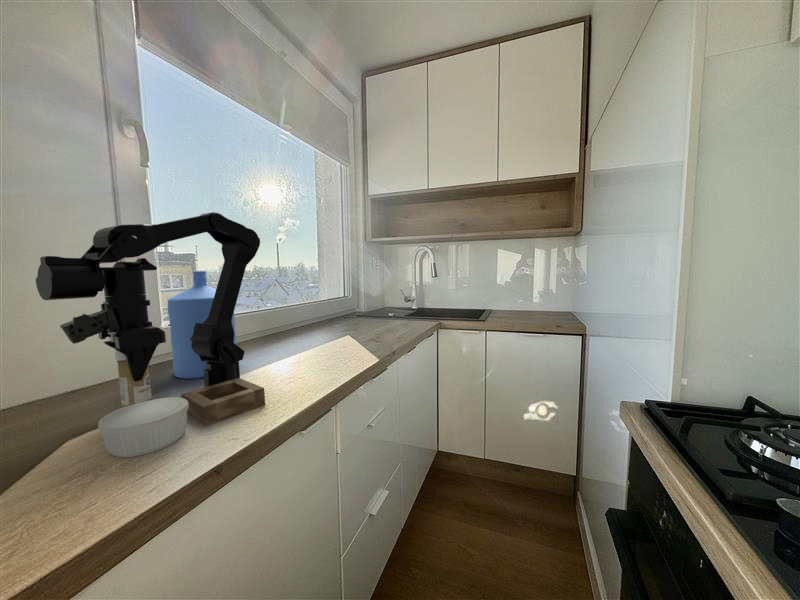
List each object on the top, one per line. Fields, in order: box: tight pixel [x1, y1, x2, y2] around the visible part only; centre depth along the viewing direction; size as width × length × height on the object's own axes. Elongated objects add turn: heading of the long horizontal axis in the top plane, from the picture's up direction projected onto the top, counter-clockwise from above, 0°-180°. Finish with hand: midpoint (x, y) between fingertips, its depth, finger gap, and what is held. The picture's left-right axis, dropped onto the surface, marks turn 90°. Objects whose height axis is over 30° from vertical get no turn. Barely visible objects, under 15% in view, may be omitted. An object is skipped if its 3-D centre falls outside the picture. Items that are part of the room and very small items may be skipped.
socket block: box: [181, 377, 266, 427], centre depth 62 cm, size 11×11×4 cm
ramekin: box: [97, 396, 189, 458], centre depth 50 cm, size 11×11×5 cm
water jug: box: [167, 270, 238, 380], centre depth 87 cm, size 16×16×28 cm
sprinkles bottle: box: [114, 350, 152, 408], centre depth 58 cm, size 5×5×14 cm
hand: (134, 378), depth 58 cm, fingers closed on sprinkles bottle, 4 cm apart
